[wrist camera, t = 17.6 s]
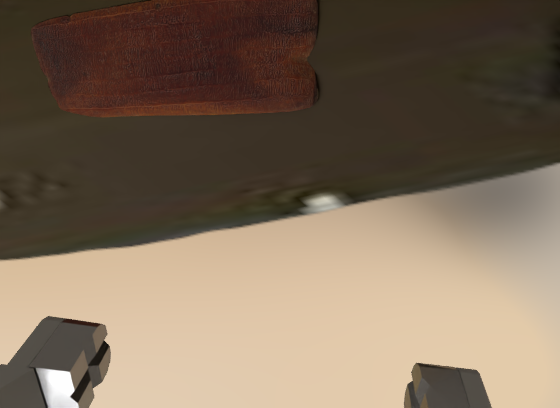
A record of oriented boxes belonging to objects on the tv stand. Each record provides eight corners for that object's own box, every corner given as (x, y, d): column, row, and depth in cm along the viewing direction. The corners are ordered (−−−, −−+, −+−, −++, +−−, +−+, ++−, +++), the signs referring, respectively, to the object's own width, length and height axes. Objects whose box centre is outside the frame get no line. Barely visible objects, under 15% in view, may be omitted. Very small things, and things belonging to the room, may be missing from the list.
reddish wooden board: (317, -19, 35) (315, -21, 34) (322, 108, 39) (320, 111, 38) (28, 10, 41) (15, 9, 39) (56, 119, 44) (45, 122, 43)
